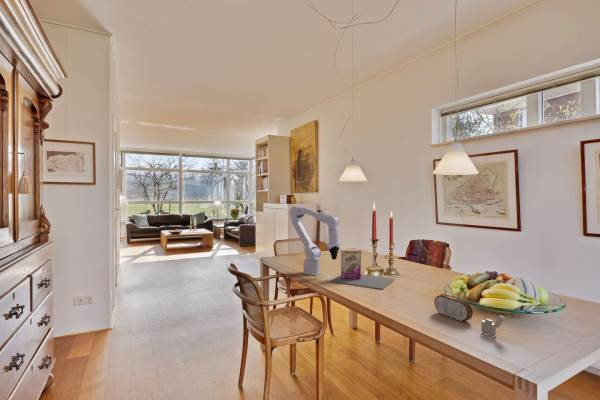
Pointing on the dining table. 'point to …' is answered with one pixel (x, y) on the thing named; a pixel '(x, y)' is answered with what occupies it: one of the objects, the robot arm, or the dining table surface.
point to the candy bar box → (350, 264)
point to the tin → (453, 307)
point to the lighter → (491, 325)
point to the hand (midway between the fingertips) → (334, 259)
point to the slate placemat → (365, 281)
